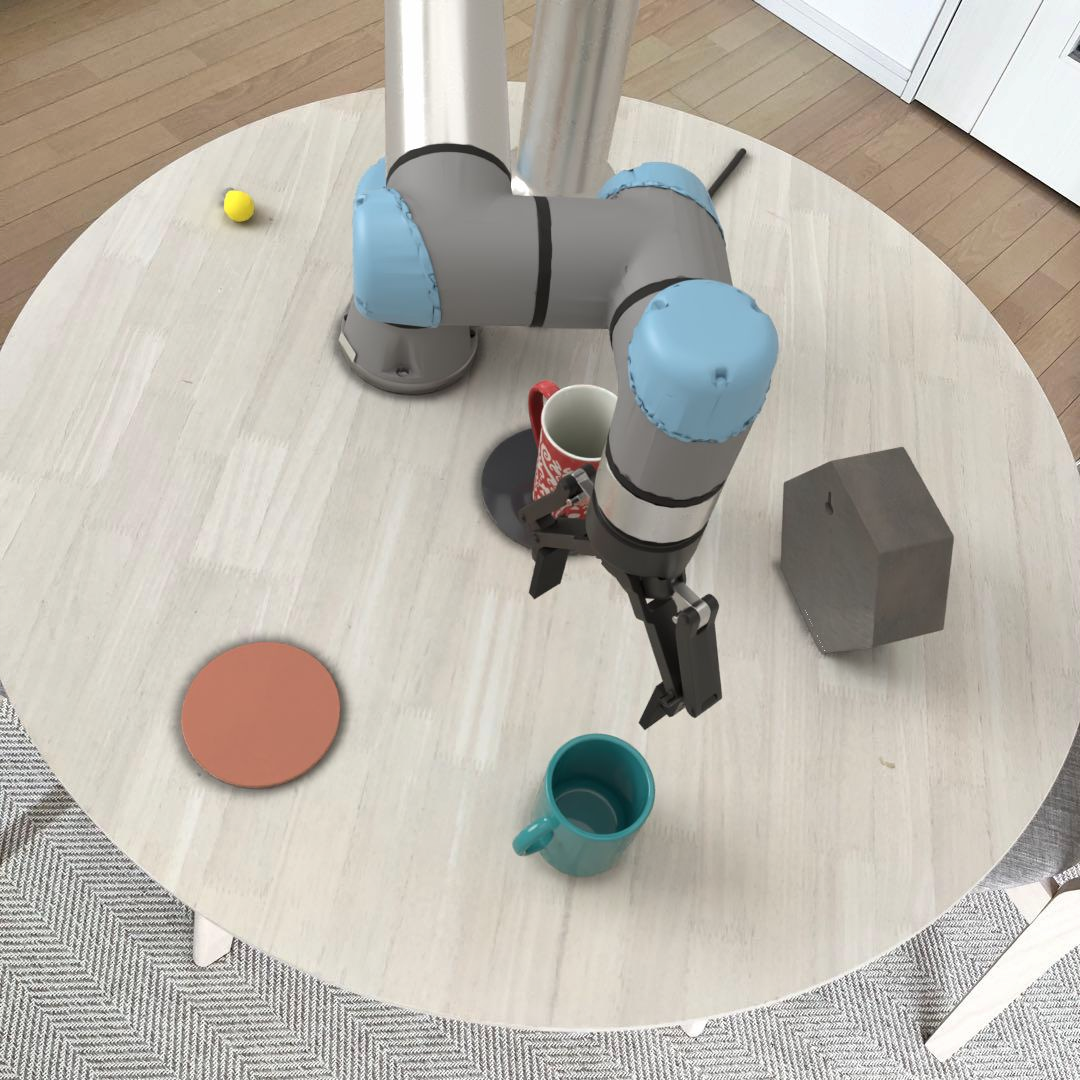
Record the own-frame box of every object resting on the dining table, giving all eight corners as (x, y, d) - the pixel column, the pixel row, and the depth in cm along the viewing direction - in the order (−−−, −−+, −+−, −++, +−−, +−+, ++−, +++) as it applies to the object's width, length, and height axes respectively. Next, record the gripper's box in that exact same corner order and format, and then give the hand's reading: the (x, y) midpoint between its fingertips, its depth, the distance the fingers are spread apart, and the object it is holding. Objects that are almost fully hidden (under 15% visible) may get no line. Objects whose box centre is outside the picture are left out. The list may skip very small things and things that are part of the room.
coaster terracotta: (281, 617, 108) (281, 614, 108) (371, 724, 103) (371, 722, 103) (151, 702, 102) (150, 699, 102) (240, 820, 97) (239, 818, 97)
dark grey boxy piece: (938, 678, 107) (961, 479, 98) (867, 697, 106) (884, 495, 96) (842, 598, 122) (854, 417, 113) (778, 613, 120) (785, 430, 111)
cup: (481, 823, 100) (492, 780, 90) (595, 761, 104) (617, 714, 95) (533, 915, 96) (550, 880, 87) (649, 847, 100) (677, 807, 91)
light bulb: (238, 232, 133) (223, 207, 130) (223, 210, 137) (208, 186, 134) (263, 217, 133) (248, 192, 131) (248, 196, 137) (233, 172, 134)
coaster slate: (561, 405, 125) (562, 403, 125) (661, 502, 120) (662, 499, 120) (449, 477, 119) (449, 474, 118) (550, 582, 113) (551, 580, 113)
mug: (627, 514, 118) (653, 437, 107) (554, 549, 115) (573, 473, 104) (562, 427, 123) (581, 345, 112) (491, 458, 120) (502, 377, 108)
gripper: (835, 612, 67) (740, 747, 85) (574, 344, 76) (538, 517, 94) (746, 678, 64) (667, 804, 82) (485, 390, 73) (465, 560, 91)
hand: (598, 651), depth 88 cm, fingers open, 13 cm apart
